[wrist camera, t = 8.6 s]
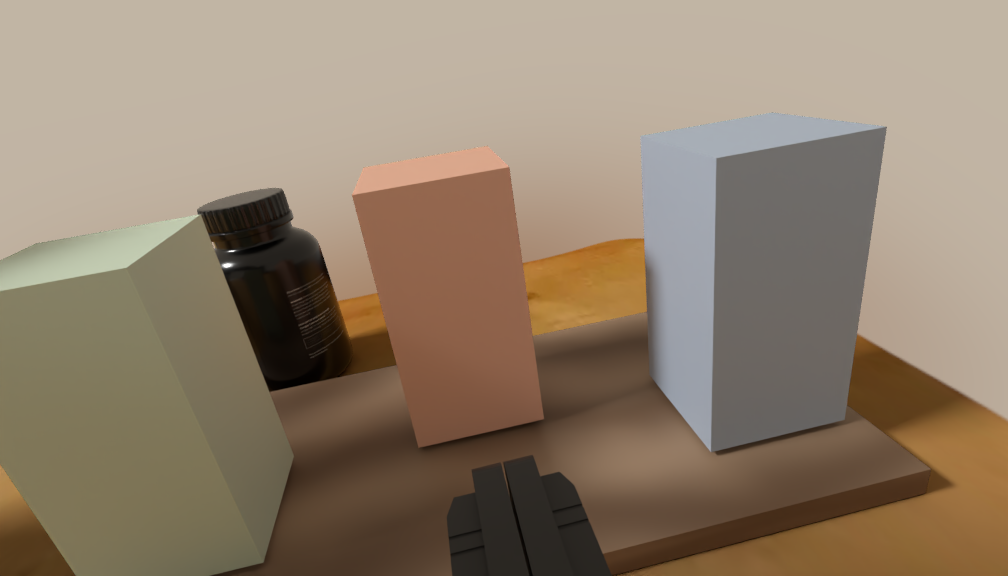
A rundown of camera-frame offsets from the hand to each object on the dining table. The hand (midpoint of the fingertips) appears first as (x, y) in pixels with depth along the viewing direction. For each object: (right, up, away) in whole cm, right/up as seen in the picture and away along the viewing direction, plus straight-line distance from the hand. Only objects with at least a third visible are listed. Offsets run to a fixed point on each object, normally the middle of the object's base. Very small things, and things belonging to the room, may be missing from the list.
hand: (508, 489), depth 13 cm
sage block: (-13, -5, +10) cm, 17 cm away
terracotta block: (-2, -1, +15) cm, 15 cm away
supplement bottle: (-14, -1, +23) cm, 27 cm away
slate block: (+11, 0, +12) cm, 16 cm away
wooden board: (-1, -3, +13) cm, 14 cm away
